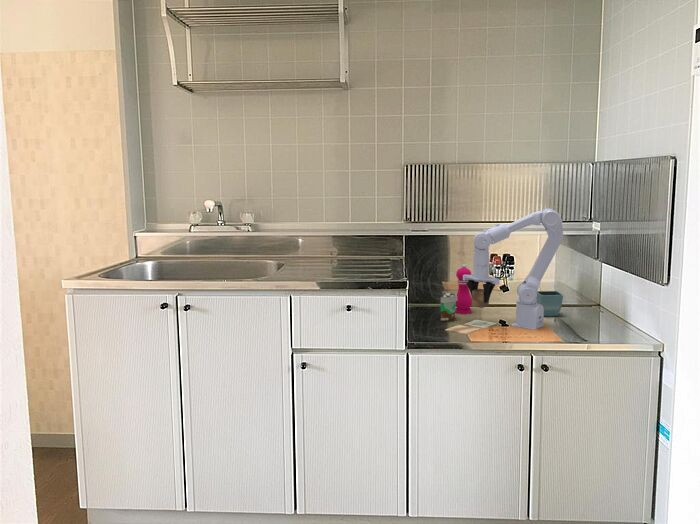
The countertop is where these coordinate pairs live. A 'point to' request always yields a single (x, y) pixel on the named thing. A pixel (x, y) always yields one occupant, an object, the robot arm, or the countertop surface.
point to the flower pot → (550, 302)
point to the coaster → (462, 329)
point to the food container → (448, 306)
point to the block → (478, 298)
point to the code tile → (480, 323)
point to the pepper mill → (463, 292)
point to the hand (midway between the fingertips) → (480, 301)
